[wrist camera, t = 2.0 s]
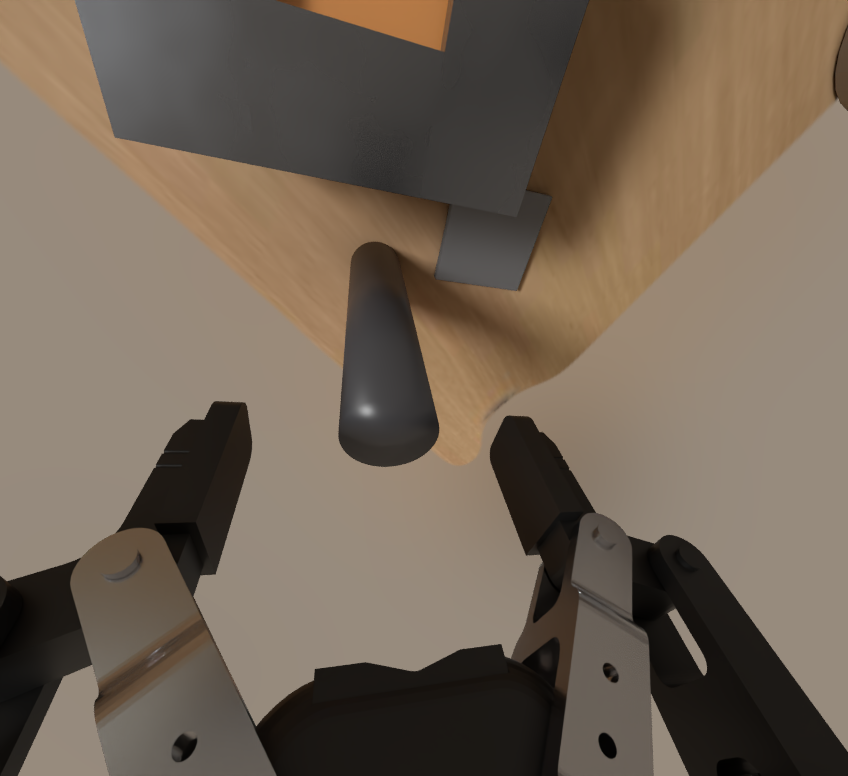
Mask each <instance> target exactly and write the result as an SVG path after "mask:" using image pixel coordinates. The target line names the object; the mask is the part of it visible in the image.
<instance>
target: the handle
mask: <svg viewBox="0 0 848 776" xmlns="http://www.w3.org/2000/svg"><path fill="white" fill-rule="evenodd" d="M438 435H439V423H438V419H437V414H436V410H435V406H434V402H433V398H432V394H431V390H430V386H429V382H428V378H427V373H426V369H425V365H424V361H423V357H422V353H421V349H420V345H419V341H418V336H417V332H416V328H415V324H414V320H413V316H412V312H411V308H410V304H409V300H408V295H407V291H406V287H405V283H404V279H403V275H402V271H401V267H400V263H399V259H398V257H397V255H396V253H395V252H394V251H393V249H391V248H390V247H389V246H388V245H386V244H383V243H380V242H368V243H365V244H363V245H361V246H360V247H359V248H358V249H357V250H356V251H355V252H354V254H353V256H352V259H351V267H350V281H349V295H348V309H347V322H346V336H345V350H344V364H343V378H342V392H341V405H340V419H339V441H340V444H341V446H342V448H343V449H344V451H345V452H346V453H347V454H348V455H349V456H351V457H352V458H353V459H355V460H357V461H359V462H361V463H365V464H368V465H372V466H381V467H388V466H397V465H402V464H406V463H409V462H411V461H414V460H416V459H418V458H420V457H421V456H423V455H424V454H425V453H427V452H428V451H429V450H430V449H431V448H432V447H433V445H434V444H435V442H436V440H437V438H438Z"/></svg>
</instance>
